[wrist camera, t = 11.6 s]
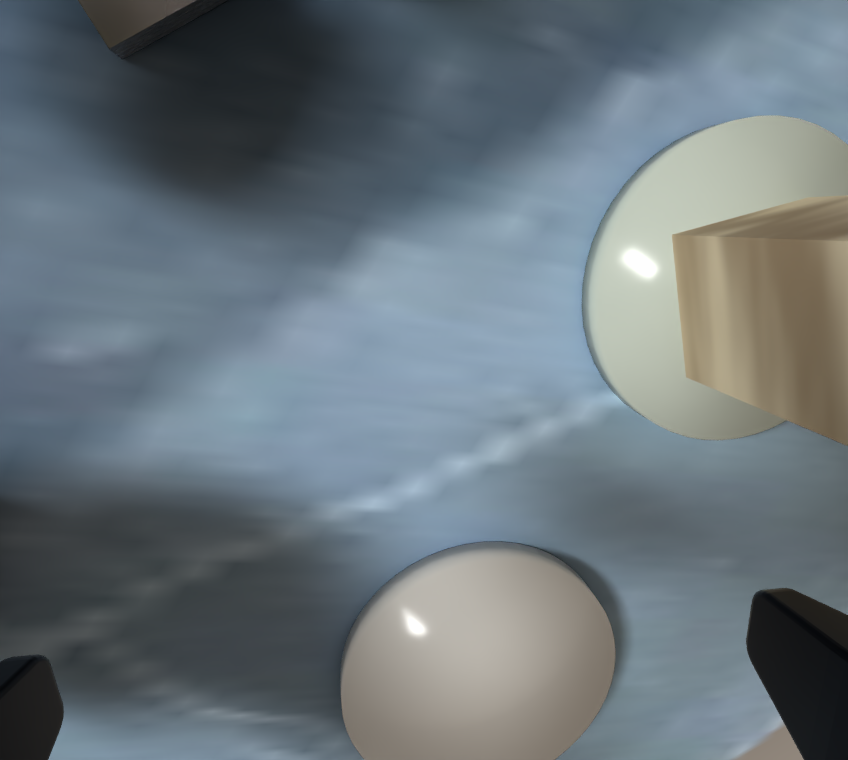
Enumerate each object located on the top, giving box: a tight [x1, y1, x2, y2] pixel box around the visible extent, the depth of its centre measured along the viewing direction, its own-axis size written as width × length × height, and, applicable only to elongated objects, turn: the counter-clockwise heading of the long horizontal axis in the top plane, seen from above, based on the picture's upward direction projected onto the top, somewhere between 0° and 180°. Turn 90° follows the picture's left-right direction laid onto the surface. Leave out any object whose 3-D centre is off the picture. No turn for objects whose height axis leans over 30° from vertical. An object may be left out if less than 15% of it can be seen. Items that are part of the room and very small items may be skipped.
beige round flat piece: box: [582, 116, 848, 440], centre depth 20 cm, size 11×11×1 cm
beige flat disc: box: [340, 542, 615, 760], centre depth 22 cm, size 11×11×1 cm
